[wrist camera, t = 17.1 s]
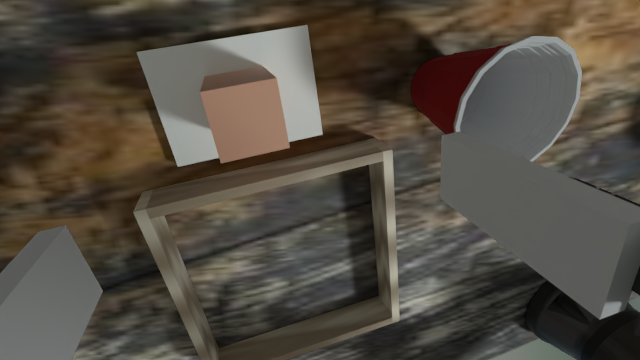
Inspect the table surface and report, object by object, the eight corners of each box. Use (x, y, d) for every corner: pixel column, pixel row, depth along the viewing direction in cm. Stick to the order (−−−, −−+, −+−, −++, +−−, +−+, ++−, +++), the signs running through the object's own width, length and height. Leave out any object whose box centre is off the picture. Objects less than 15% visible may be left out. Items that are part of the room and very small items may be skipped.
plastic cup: (374, 129, 36) (440, 171, 25) (406, 20, 32) (498, 16, 21) (456, 143, 39) (542, 185, 29) (492, 46, 36) (608, 54, 25)
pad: (320, 131, 34) (322, 134, 33) (178, 163, 32) (177, 166, 31) (304, 25, 30) (307, 24, 29) (139, 51, 27) (136, 52, 26)
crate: (386, 298, 47) (399, 320, 43) (212, 356, 42) (212, 385, 39) (375, 137, 36) (392, 149, 33) (142, 191, 32) (132, 212, 28)
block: (273, 121, 31) (290, 147, 24) (220, 132, 30) (220, 163, 23) (262, 65, 29) (276, 77, 22) (204, 76, 28) (199, 92, 21)
